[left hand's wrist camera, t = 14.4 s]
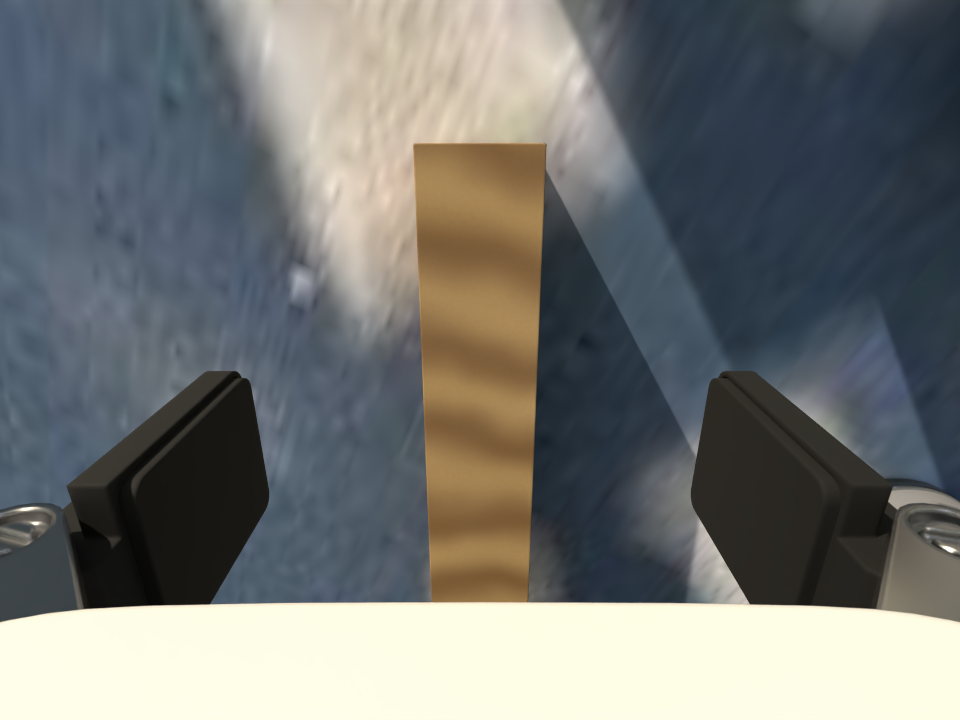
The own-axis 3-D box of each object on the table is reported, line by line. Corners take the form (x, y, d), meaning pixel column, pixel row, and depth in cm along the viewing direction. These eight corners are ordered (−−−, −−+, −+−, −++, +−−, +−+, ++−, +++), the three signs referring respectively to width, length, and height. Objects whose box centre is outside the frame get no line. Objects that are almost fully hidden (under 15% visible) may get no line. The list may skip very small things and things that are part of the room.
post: (425, 146, 31) (413, 143, 26) (534, 146, 31) (546, 143, 26) (447, 835, 54) (444, 915, 48) (511, 835, 54) (515, 915, 48)
